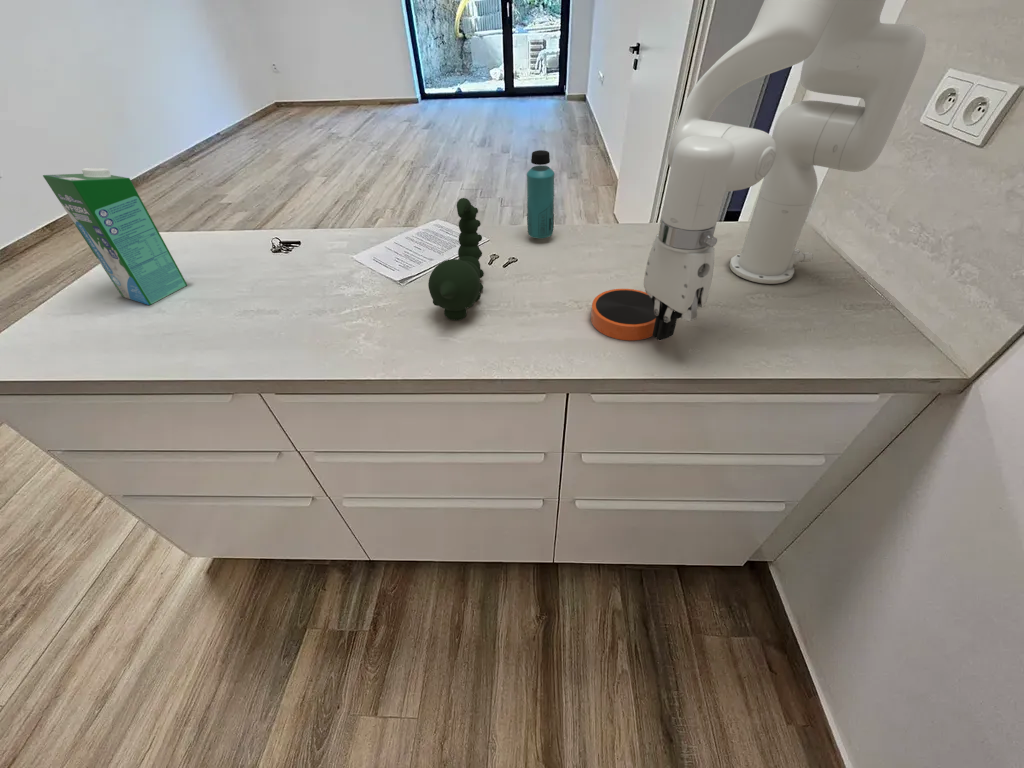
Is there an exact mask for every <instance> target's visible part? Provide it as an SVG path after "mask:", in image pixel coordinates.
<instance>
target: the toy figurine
mask: <svg viewBox="0 0 1024 768" xmlns="http://www.w3.org/2000/svg"><path fill="white" fill-rule="evenodd" d="M456 211H457V216H458V217H459V218H460V219H459V221H458V228H459V231H460V233H459V235H458V244H459V247H458V250H457V255H458V256H457V257H458V259H457V258H452V259H451V258H450V259H446V260H443V261H441V262H440V263H439V264H437V265H436V266H435V267H434V268H433V269H432V271H431V274H430V275H429V278H428V282H427V283H428V284H427V286H428V291H429V293H430V297H431V300H432V304H433V306H436V307H439V308H442V309H444V310H443V315H444V316H445V318H447V319H448V320H450V321H461V320H464V319H465V318H466V316H467V312H468V311H467V309H469V308H472V307H473V305H474V304H475V303H476V302H478V301H479V300H480V299H481V296H482V294H481V293H482V291H483V290H484V285H483V284H482V282H481V279H482V278H483V277H484V275H485V272H484V270H483V269H481V263H480V261H479V260H480V258H481V257H482V256H483V252H482V250H481V249H480V247H479V245H480V242H482V240H483V236H482V234H479V233H478V229H479V227H480V226H481V220H479V219H476V217H477V214H478V213H479V209H478V208H477V207H475V206H473V205H472V203H471V201H470V200H469V199H468V198H465V197H461V198H459V199H458V201H457V202H456Z"/></svg>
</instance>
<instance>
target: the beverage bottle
mask: <svg viewBox="0 0 1024 768" xmlns="http://www.w3.org/2000/svg"><path fill="white" fill-rule="evenodd" d="M550 157H551V156H550V151H548V150H545V149H544V150H543V149H540V150H534V151H532V152H531V158H530V163H531V164H533V165H534V166H532V167H531V168H529V170H528V171H527V173H526V195H527V196H526V212H527V213H526V224H527V225H526V226H527V231H526V232H527V234H528V236H529V237H531V238H534V239H546V238H549V237H551V236H552V235H553V234H554V229H555V228H554V227H555V223H554V222H555V171H554V170H553V169H552V168H551V167H550V166H547V165H548V164H550V162H551V158H550Z"/></svg>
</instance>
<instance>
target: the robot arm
mask: <svg viewBox="0 0 1024 768" xmlns="http://www.w3.org/2000/svg"><path fill="white" fill-rule="evenodd" d="M886 1H887V0H763V2H762V5H761V7H760V9H759V11H758V14H757V16H756V18H755V21H754V23H753V25H752V28H751V30H749V32H748V34H747V35H746V36H745V37H744V38H743V39H742V40H740V41H739V42H738V43H736V44H735V45H733V47H731V48H730V49H729V50H728V51H726V52H725V53H724V54H723V55H722V56H721V57H719V58H718V60H716V61H715V62H714V63H713V65H711V66H710V68H709V69H708V70H706V72H705V73H704V74H703V75H702V76H701V77H700V78H699V79H698V80H697V82H696V83H695V84H694V86H693V88H692V89H691V91H690V92H689V94H688V97H687V98H686V101H685V103H684V105H683V107H682V109H681V112H680V114H679V117H678V119H677V122H676V124H675V127H674V129H673V131H672V135H671V138H670V140H669V145H668V149H667V161H668V165H669V168H670V171H669V177H668V180H667V181H668V182H667V186H666V192H665V197H664V202H663V208H662V212H661V218H660V224H659V229H658V233H657V234H656V236H655V238H654V239H653V242H652V244H651V245H652V246H651V247H650V251H649V255H648V258H647V262H646V266H645V271H644V277H643V288H644V292H646V293H647V294H648V295H649V296H650V297H651V299H652V301H653V303H654V314H655V315H656V320H655V325H654V330H653V334H652V336H651V337H653V338H656V340H657V341H659V342H660V341H663V340H666V339H669V338H671V337H673V336H674V332H675V329H676V325H677V321H678V320H679V319H681V320H683V321H686V322H693V321H695V320H697V319H698V308H704V307H705V306H706V304H707V302H708V298H709V295H710V292H711V286H712V281H713V275H714V267H715V258H716V257H715V246H716V245H717V243H718V237H715V236H714V235H715V234H714V233H715V232H716V231H715V230H716V227H717V223H718V219H719V216H720V211H721V208H722V203H723V201H724V196H725V194H726V193H729V192H734V191H741V190H745V189H749V188H751V187H753V186H755V185H757V184H758V183H760V182H761V181H762V180H763V181H762V184H761V189H760V190H759V194H758V197H757V201H756V204H755V207H754V210H753V213H752V217H751V219H750V223H749V227H748V229H747V233H746V236H745V238H744V242H743V245H742V248H741V252H740V253H738V254H735V255H733V256H732V257H731V259H730V261H729V268H730V270H731V272H733V273H734V274H735V275H736V276H738V277H740V278H742V279H744V280H747V281H750V282H753V283H758V284H769V285H775V284H776V285H777V284H783V283H786V282H788V281H789V280H791V279H792V278H793V276H794V274H795V268H794V265H797V264H798V263H807V262H811V261H812V260H813V257H814V256H813V253H812V252H811V251H807V252H800V249H799V248H796V246H797V244H798V241H799V239H800V236H801V233H802V231H803V228H804V225H805V223H806V221H807V219H808V217H809V213H810V211H811V208H812V205H813V203H814V200H815V198H816V195H817V191H818V176H817V173H816V169H815V167H816V166H817V167H821V168H822V167H823V168H828V169H832V170H838V171H843V172H844V171H845V172H850V173H855V172H856V173H860V172H863V171H865V170H868V169H869V168H870V167H871V166H872V165H874V163H875V162H876V161H878V158H879V157H880V155H881V153H882V152H883V149H885V146H886V144H887V142H888V140H889V137H890V135H891V133H892V130H893V128H894V126H895V123H896V121H897V119H898V117H899V114H900V113H901V110H902V107H903V106H904V103H905V101H906V98H907V96H908V95H909V92H910V89H911V87H912V84H913V82H914V81H915V78H916V75H917V73H918V71H919V68H920V65H921V63H922V60H923V58H924V55H925V49H926V42H927V39H926V38H927V37H926V33H925V31H924V30H923V29H922V28H921V27H920V26H917V25H914V24H908V23H907V24H906V23H886V22H885V23H882V22H881V15H882V11H883V9H884V6H885V3H886ZM800 63H802V65H801V71H800V83H801V86H802V87H803V88H804V89H805V90H807V91H810V92H814V93H818V94H824V95H832V96H840V97H849V98H857V99H862V100H863V101H864V106H861V105H852V104H844V103H838V102H832V101H831V102H830V101H824V100H823V101H822V100H801V101H796V102H794V103H792V104H790V105H788V106H787V107H786V108H784V109H783V110H782V112H781V113H780V114H779V115H778V117H777V119H776V121H775V124H774V127H773V129H772V135H771V134H770V133H768V132H766V131H764V130H762V129H758V128H753V127H746V126H741V125H737V124H731V123H726V122H720V121H719V122H718V121H713V120H711V118H712V116H713V114H714V112H715V111H716V110H717V108H718V106H719V105H720V104H721V103H722V102H723V101H724V100H725V99H726V98H727V97H728V96H729V95H730V94H732V93H733V92H734V91H736V90H737V89H739V88H740V87H742V86H744V85H747V84H748V83H750V82H752V81H755V80H758V79H761V78H763V77H765V76H768V75H770V74H773V73H776V72H779V71H782V70H785V69H787V68H790V67H793V66H795V65H797V64H800Z"/></svg>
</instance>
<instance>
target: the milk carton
mask: <svg viewBox="0 0 1024 768" xmlns="http://www.w3.org/2000/svg"><path fill="white" fill-rule="evenodd" d="M81 171H82V173H63V174H44V175H42V177H43V179H44V180H45V182H46V183H47V185H48V186H49V188H50V189H51V191H52V192H53V194H54V196H55V197H56V198H57V200H58V202H59V203H60V204H61V206H62V208H63V209H64V210H65V212H66V213H67V215H68V217H69V218H70V220H71V221H72V223H73V224H74V225H75V227H76V229H77V230H78V232H79V234H80V235H81V237H82V238H83V240H84V241H85V243H86V244H87V246H88V247H89V249H90V250H91V251H92V253H93V254H94V256H95V258H96V260H97V261H98V262H99V264H100V265H101V267H102V268H103V270H104V271H105V273H106V275H107V276H108V277H109V279H110V280H111V282H112V284H113V286H114V287H115V288H116V289H117V291H118V293H119V295H121V297H122V298H124V299H128V300H131V301H135V302H137V303H141V304H145V305H147V306H151V305H153V304H155V303H157V302H158V301H161V300H162V299H164V298H166V297H168V296H170V295H172V294H174V293H175V292H178V291H179V290H181V289H183V288H185V287H187V286H188V283H187V281H186V279H185V278H184V276H183V274H182V272H181V270H180V269H179V267H178V265H177V263H176V261H175V259H174V257H173V255H172V253H171V252H170V250H169V249H168V246H167V244H166V243H165V241H164V239H163V237H162V235H161V234H160V231H159V230H158V228H157V225H156V224H155V222H154V221H153V219H152V217H151V214H150V213H149V211H148V209H147V208H146V206H145V204H144V202H143V200H142V198H141V196H140V194H139V193H138V191H137V189H136V187H135V185H134V184H133V182H132V180H131V178H130V177H125V176H120V175H114V174H111V172H110V169H109V168H103V167H101V168H99V167H85V168H81Z"/></svg>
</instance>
